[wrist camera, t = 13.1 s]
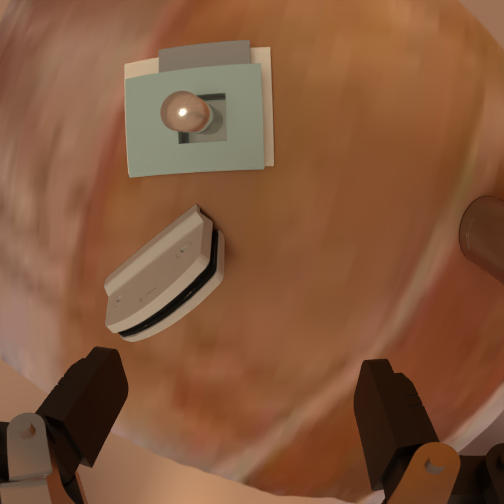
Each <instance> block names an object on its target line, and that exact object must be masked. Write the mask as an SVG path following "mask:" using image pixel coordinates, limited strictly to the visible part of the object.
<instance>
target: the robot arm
mask: <svg viewBox="0 0 504 504" xmlns="http://www.w3.org/2000/svg"><path fill="white" fill-rule="evenodd" d="M459 237H460V245H461V248H462V251H463V253H464V255H465V256H466V257H467V258H468V259H469V260H471V261H472V262H474V263H475V264H477V265H478V266H479V267H481V268H482V269H483V270H485V271H486V272H487V273H489V274H490V275H491V276H493V277H494V278H496V279H497V280H498V281H500V282H501V283H502V284H503V285H504V201H502V200H499V199H497V198H494V197H490V196H484V197H481V198H479V199H477V200H475V201H474V202H473V203H472V204H471V205H470V206H469V208H468V209H467V211H466V212H465V214H464V216H463V219H462V222H461V226H460V235H459ZM127 396H128V382H127V378H126V375H125V372H124V369H123V365H122V362H121V358H120V355H119V352H118V351H117V350H116V349H111V348H105V347H98V346H96V347H94V348H93V349H92V351H91V352H90V353H89V354H88V356H87V357H86V358H82V359H81V360H79V361H78V362H76V363H75V364H73V365H72V366H71V367H70V368H69V369H68V370H67V372H66V373H65V374H64V377H62V378H61V379H60V381H59V382H58V385H56V386H55V387H54V389H53V390H52V391H51V393H50V394H49V395H48V397H47V398H46V399H45V400H44V402H43V403H42V405H41V406H40V407H39V409H38V410H37V411H36V413H23V414H20V415H18V416H16V417H15V418H14V419H12V420H11V422H10V423H9V422H0V504H88V502H87V499H86V496H85V493H84V489H83V486H82V483H81V480H80V476H79V473H78V471H77V468H78V466H79V464H82V465H85V466H88V467H91V468H92V467H93V465H94V462H95V460H96V458H97V456H98V454H99V452H100V450H101V448H102V446H103V444H104V442H105V440H106V438H107V436H108V434H109V432H110V430H111V428H112V426H113V424H114V422H115V420H116V418H117V416H118V414H119V413H120V411H121V409H122V407H123V405H124V403H125V401H126V399H127ZM354 412H355V417H356V421H357V425H358V429H359V433H360V438H361V442H362V447H363V451H364V456H365V460H366V465H367V469H368V474H369V479H370V484H371V489H372V491H377V490H383V489H384V493H385V499H384V500H383V502H382V503H381V504H504V443H501V444H497V445H495V446H493V447H492V448H491V449H490V450H489V452H488V453H487V454H486V456H462V455H458V453H457V452H456V451H455V449H453V448H452V447H451V446H449V445H447V444H445V443H441V442H440V441H439V439H438V437H437V435H436V433H435V430H434V428H433V426H432V423H431V421H430V419H429V417H428V415H427V412H426V410H425V408H424V406H422V401H421V399H420V397H419V396H418V393H417V391H416V389H415V387H414V385H413V383H412V382H411V381H410V380H409V379H408V378H407V377H406V376H405V375H404V374H403V373H394V372H393V369H392V367H391V365H390V363H389V361H388V360H387V359H373V360H364V361H363V363H362V366H361V370H360V374H359V378H358V382H357V386H356V390H355V394H354Z"/></svg>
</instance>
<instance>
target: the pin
mask: <svg viewBox="0 0 504 504" xmlns="http://www.w3.org/2000/svg"><path fill="white" fill-rule="evenodd" d="M160 115H161V119H162V122H163V123H164V125H165V126H166V127H167V128H169V129H171V130H173V131H179V132H188V133H196V134H204V135H212V134H215V133H217V132H218V131H219V130H220V129H221V127H222V125H223V116H222V114H221V113H220V111H219V110H217V109H216V108H214V107H213V106H211V105H210V104H208V103H207V102H205V101H204V100H202V99H200V98H199V97H197V96H196V95H194V94H193V93H191V92H188V91H177V92H174V93H172V94H170V95H169V96H168V97H167V98H166V99H165V100H164V102H163V103H162V106H161V110H160Z"/></svg>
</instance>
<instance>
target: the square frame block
mask: <svg viewBox="0 0 504 504" xmlns="http://www.w3.org/2000/svg"><path fill="white" fill-rule="evenodd" d="M177 91H188V92H191V93H193V94H194V95H196V96H197V97H199V98H200V99H202V100H204V101H205V102H207V103H208V104H210V105H211V106H213V107H214V108H216V109H217V110H219V111H220V113H221V114H222V116H223V125H222V127H221V129H220V130H219V131H218V132H217V133H215V134H212V135H204V134H196V133H188V132H179V131H173V130H171V129H169V128H167V127H166V126H165V125H164V123H163V122H162V119H161V115H160V110H161V106H162V103H163V102H164V100H165V99H166V98H167V97H168V96H169V95H170V94H172V93H174V92H177ZM125 126H126V146H127V161H128V174H129V178H131V177H141V176H152V175H163V174H176V173H191V172H208V171H228V170H259V169H264V166H274V141H273V108H272V80H271V56H270V47H259V48H250V40H240V41H225V42H213V43H203V44H195V45H187V46H180V47H173V48H167V49H161V50H159V58H153V59H147V60H142V61H137V62H132V63H128V64H125Z"/></svg>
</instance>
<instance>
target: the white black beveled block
mask: <svg viewBox="0 0 504 504" xmlns="http://www.w3.org/2000/svg"><path fill="white" fill-rule="evenodd" d="M212 224H213V221H211V220H210V219H208V218H207V217H206V216H204V215H203V214H201V213H200V206H198V205H197V204H195V205H194V206H193V207H192V208H190V209H189V210H188V211H186V212H185V213H184V214H183V215H181V216H180V217H179V218H178V219H176V220H175V221H174V222H172V223H171V224H170V225H169V226H167V227H166V228H165V229H164V230H163V231H161V232H160V233H159V234H158V235H156V236H155V237H154V238H153V239H151V240H150V241H149V242H148V243H147V244H145V245H144V246H143V247H142V248H141V249H139V250H138V251H137V252H136V253H135V254H133V255H132V256H131V257H130V258H129V259H128V260H126V261H125V262H124V263H123V264H122V265H121V266H119V267H118V268H117V269H116V270H115V271H114V272H112V273H111V274H110V275H109V276H108V277H107V278H106V281H105V284H104V288H105V290H106V292H107V294H108V297H109V298H108V305H107V313H106V321H105V325H106V326H107V327H108V328H109V329H110V330H111V331H112V332H113V333H119V334H120V336H121V338H122V339H124V340H127V341H130V342H134V341H139V340H142V339H145V338H148V337H150V336H152V335H154V334H157V333H159V332H160V331H162V330H164V329H166V328H167V327H169V326H171V325H172V324H174V323H175V322H177V321H178V320H179V319H181V318H182V317H183V316H185V315H186V314H187V313H189V312H190V311H191V310H192V309H194V308H195V307H196V306H197V305H198V304H199V303H201V302H202V301H203V300H204V299H205V298H206V297H207V296H208V295H209V294H210V293H211V292H212V291H213V290H214V289H215V288H216V287H217V286H218V285H219V284H220V283H221V282H222V280H223V278H224V254H225V237H224V235H223V233H222V232H221V230H219V231H216V230H215V231H213V226H212Z"/></svg>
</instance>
